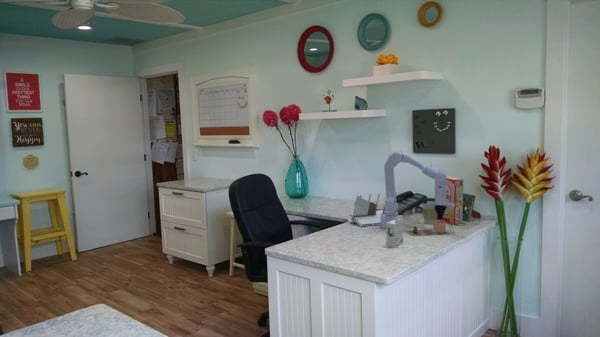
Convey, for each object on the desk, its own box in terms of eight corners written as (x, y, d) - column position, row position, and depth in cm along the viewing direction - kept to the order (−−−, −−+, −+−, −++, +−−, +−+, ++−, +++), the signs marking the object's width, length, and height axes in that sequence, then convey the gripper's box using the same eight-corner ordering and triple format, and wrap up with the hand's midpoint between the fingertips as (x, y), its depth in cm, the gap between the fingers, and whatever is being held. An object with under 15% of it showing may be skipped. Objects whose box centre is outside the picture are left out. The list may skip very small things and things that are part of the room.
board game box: (433, 218, 279) (434, 175, 276) (442, 217, 280) (443, 174, 278) (453, 225, 259) (454, 179, 256) (463, 224, 261) (464, 178, 258)
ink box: (394, 242, 224) (394, 213, 222) (403, 244, 221) (403, 214, 219) (385, 246, 217) (385, 216, 216) (394, 247, 214) (395, 217, 213)
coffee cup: (423, 222, 269) (424, 197, 267) (440, 223, 264) (441, 198, 262) (419, 225, 260) (419, 199, 259) (436, 227, 255) (436, 201, 254)
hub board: (412, 238, 231) (412, 228, 230) (403, 233, 243) (403, 223, 242) (450, 236, 234) (450, 226, 233) (440, 231, 246) (440, 221, 245)
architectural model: (343, 215, 276) (348, 184, 268) (383, 211, 287) (389, 181, 278) (358, 232, 259) (364, 200, 251) (400, 227, 270) (408, 196, 261)
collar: (445, 231, 236) (445, 223, 235) (434, 231, 237) (434, 223, 236) (444, 229, 241) (444, 221, 241) (433, 229, 242) (433, 221, 242)
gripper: (456, 194, 238) (456, 219, 239) (430, 192, 246) (430, 216, 248) (452, 196, 232) (451, 222, 233) (425, 194, 241) (425, 218, 242)
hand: (440, 219), depth 240 cm, fingers closed
